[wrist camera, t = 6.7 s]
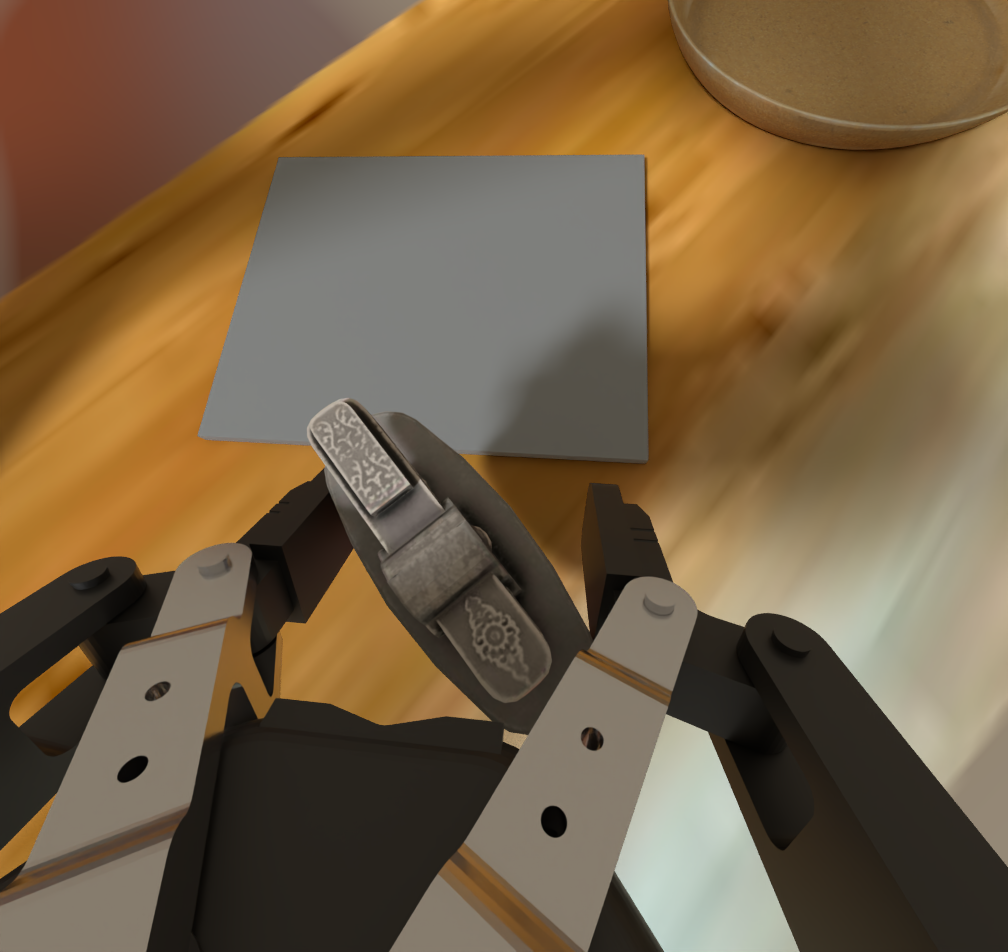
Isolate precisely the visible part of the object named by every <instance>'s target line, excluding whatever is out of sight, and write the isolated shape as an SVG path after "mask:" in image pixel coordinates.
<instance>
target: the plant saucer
mask: <svg viewBox="0 0 1008 952" xmlns="http://www.w3.org/2000/svg"><path fill="white" fill-rule="evenodd" d="M668 6H669V13H670V18H671V22H672V27H673V30H674V33H675V36H676V39H677V42H678V45H679V47H680V50H681V52H682V54H683V56H684V58H685V60H686V62H687V63H688V65H689V67H690V68H691V70H692V71H693V73H694V74H695V75H696V77H697V78H698V80H699V81H700V82H701V83H702V85H703V86H704V87H705V88H706V89H707V90H708V91H709V92H710V93H711V95H713V96H714V97H715V98H716V99H717V100H718V101H719V102H720V103H721V104H722V105H724V106H725V107H726V108H728V109H729V110H730V111H732V112H733V113H735V114H736V115H738V116H739V117H740V118H742V119H744V120H746V121H747V122H749V123H751V124H753V125H755V126H757V127H758V128H761V129H763V130H765V131H768V132H770V133H773V134H775V135H778V136H781V137H784V138H787V139H790V140H794V141H797V142H801V143H806V144H810V145H815V146H822V147H828V148H837V149H849V150H867V149H884V148H895V147H903V146H909V145H914V144H920V143H925V142H929V141H933V140H937V139H941V138H944V137H947V136H950V135H953V134H956V133H959V132H962V131H965V130H968V129H971V128H973V127H975V126H978V125H980V124H983V123H985V122H987V121H990V120H992V119H994V118H996V117H998V116H1000V115H1002V114H1004V113H1006V112H1008V0H668Z"/></svg>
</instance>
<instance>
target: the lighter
mask: <svg viewBox="0 0 1008 952" xmlns="http://www.w3.org/2000/svg"><path fill="white" fill-rule="evenodd" d="M307 437H308V439H309V441H310V443H311V446H312V447H313V449H314V450H315V451H316V453H317V454H318V456H319V457H320V458H321V460H322V461H323V463H324V464H325V469H324V472H325V477H326V483H327V487H328V489H329V492H330V494H331V497H332V499H333V501H334V504H335V506H336V508H337V511H338V513H339V516H340V518H341V520H342V523H343V525H344V528H345V530H346V532H347V535H348V537H349V539H350V542H351V544H352V546H353V548H354V549H355V551H356V553H357V554H358V556H359V558H360V560H361V561H362V563H363V565H364V567H365V568H366V570H367V572H368V573H369V575H370V577H371V579H372V580H373V582H374V584H375V585H376V587H377V589H378V591H379V592H380V594H381V596H382V598H383V599H384V601H385V603H386V604H387V606H388V607H389V609H390V610H391V611H392V612H393V614H394V615H395V616H396V617H397V619H398V620H399V621H400V622H401V624H402V625H403V626H404V627H405V629H406V630H407V631H408V632H409V634H410V635H411V636H412V637H413V638H414V640H415V641H416V642H417V643H418V645H419V646H420V647H421V648H422V650H423V651H424V652H425V653H426V655H427V656H428V657H429V658H430V660H431V661H432V662H433V663H434V665H435V666H436V667H437V668H438V669H439V670H440V671H441V672H442V673H443V674H444V675H445V676H446V677H447V678H448V679H449V680H450V681H451V682H452V683H453V684H454V685H456V686H457V687H458V688H459V689H460V690H461V691H462V692H463V693H464V694H465V695H466V696H467V697H468V698H469V699H470V700H471V701H472V702H473V703H474V704H475V705H476V706H477V707H478V708H479V709H480V710H481V711H482V712H483V713H484V714H485V715H486V716H487V717H488V718H489V719H490V720H491V721H493V722H502V723H504V729H505V730H507V731H509V732H513V733H519V734H526V735H529V733H530V731H531V730H532V728H533V726H534V725H535V723H536V721H537V720H538V718H539V716H540V715H541V713H542V711H543V710H544V708H545V706H546V705H547V703H548V701H549V700H550V698H551V696H552V695H553V693H554V691H555V690H556V688H557V686H558V685H559V683H560V681H561V679H562V678H563V676H564V674H565V673H566V671H567V669H568V668H569V666H570V664H571V663H572V661H573V659H574V658H575V656H576V655H577V654H578V652H579V651H580V650H582V649H584V650H586V651H588V650H589V648H590V647H591V645H592V643H593V640H592V637H591V634H590V632H589V630H588V628H587V627H586V625H585V623H584V621H583V619H582V618H581V616H580V614H579V612H578V610H577V609H576V607H575V605H574V603H573V601H572V600H571V598H570V596H569V594H568V592H567V591H566V589H565V587H564V585H563V583H562V581H561V580H560V578H559V576H558V574H557V572H556V571H555V569H554V567H553V566H552V564H551V563H550V561H549V560H548V559H547V557H546V556H545V554H544V553H543V552H542V550H541V549H540V547H539V546H538V545H537V543H536V542H535V540H534V539H533V538H532V536H531V535H530V533H529V532H528V531H527V529H526V528H525V527H524V525H523V524H522V522H521V521H520V520H519V518H518V517H517V515H516V514H515V513H514V511H513V510H512V508H511V507H510V506H509V505H508V504H507V503H506V502H505V501H504V500H503V499H502V498H501V496H500V495H499V494H498V493H497V492H496V491H495V490H494V489H493V488H492V487H491V486H490V485H489V484H488V483H487V482H486V481H485V480H484V479H483V478H482V477H481V476H480V475H479V474H478V473H477V471H476V470H475V469H474V468H473V467H472V466H471V465H470V464H469V463H468V462H467V461H466V460H465V459H464V458H463V457H462V456H461V455H459V454H458V453H457V452H456V451H454V450H453V449H452V448H451V447H450V446H448V445H447V444H446V443H445V442H443V441H442V440H441V439H440V438H438V437H437V436H436V435H435V434H433V433H432V432H431V431H430V430H429V429H427V428H426V427H425V426H424V425H422V424H421V423H420V422H419V421H417V420H416V419H414V418H412V417H410V416H408V415H406V414H404V413H400V412H389V411H384V412H380V413H376V414H370V413H369V412H368V411H367V410H366V409H365V408H364V407H363V406H362V405H361V404H360V403H359V402H358V401H357V400H354V399H351V398H344V399H339V400H337V401H335V402H333V403H331V404H330V405H328V406H327V407H325V408H324V409H322V410H321V411H320V412H319V413H317V414H316V415H315V416H314V417H313V418H312V419H311V421H310V423H309V425H308V427H307Z"/></svg>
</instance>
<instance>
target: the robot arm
mask: <svg viewBox="0 0 1008 952" xmlns="http://www.w3.org/2000/svg"><path fill="white" fill-rule="evenodd" d="M324 469H325V468H324ZM324 469H323V470H322V471H321V472H320V473H319V474H318V475H317V476H316V477H315V478H314V479H313V480H312V481H307V482H305V483H303V484H302V485H300V486H298V487H296V488H294V489H292V490H290V491H289V492H288V493H287V494H286V495H285V496H284V497H283V498H282V499H281V500H280V501H279V504H276V505H275V506H274V507H273V508H272V509H271V510H270V512H269V513H267V514H266V515H264V516H263V517H262V518H261V519H260V520H259V521H258V522H257V523H256V524H255V525H254V526H253V527H252V528H251V529H250V530H249V531H248V532H247V533H246V534H245V535H244V536H243V537H242V538H241V539H240V540H238V541H237V542H236V543H225V544H219V545H215V546H211V547H208V548H205V549H203V550H201V551H199V552H197V553H195V554H193V555H191V556H190V557H188V558H187V559H186V560H184V561H183V562H182V563H181V564H180V565H179V567H178V568H177V569H176V571H170V572H163V573H156V574H149V575H142V574H141V572H140V570H139V568H138V567H137V565H136V563H135V562H134V560H132V559H131V558H127V557H108V558H103V559H99V560H95V561H92V562H89V563H86V564H83V565H81V566H79V567H76V568H74V569H72V570H70V571H69V572H67V573H65V574H63V575H62V576H60V577H59V578H57V579H55V580H54V581H52V582H50V583H49V584H47V585H46V586H44V587H42V588H41V589H39V590H38V591H36V592H34V593H33V594H31V595H30V596H28V597H26V598H25V599H23V600H22V601H20V602H18V603H17V604H15V605H14V606H12V607H10V608H9V609H7V610H5V611H4V612H2V613H1V614H0V850H1V849H2V848H3V847H4V846H5V845H6V844H7V843H8V842H9V841H10V840H11V839H12V838H13V837H14V836H15V835H16V834H17V833H18V832H19V831H20V830H21V829H22V828H23V827H24V826H25V825H26V824H27V823H28V822H29V821H30V820H31V819H32V818H33V817H34V816H35V815H36V814H37V813H38V812H39V811H40V810H41V808H42V807H43V806H44V805H45V804H46V803H47V802H48V801H49V800H50V799H51V798H52V797H53V796H54V795H55V794H56V793H57V795H56V797H55V799H54V801H53V804H52V806H51V808H50V811H49V813H48V815H47V817H46V820H45V822H44V824H43V826H42V829H41V831H40V833H39V835H38V838H37V840H36V842H35V845H34V847H33V849H32V851H31V854H30V856H29V858H28V860H27V861H26V862H24V863H23V864H21V865H20V866H18V867H17V868H16V869H14V870H13V871H11V872H10V873H8V874H7V875H5V876H4V877H2V878H1V879H0V952H664V951H663V949H662V948H661V946H660V944H659V943H658V941H657V939H656V938H655V936H654V935H653V933H652V931H651V930H650V928H649V926H648V925H647V923H646V922H645V920H644V918H643V917H642V915H641V913H640V912H639V910H638V909H637V907H636V905H635V904H634V902H633V900H632V899H631V897H630V896H629V894H628V892H627V891H626V889H625V888H624V886H623V884H622V883H621V881H620V879H619V878H618V876H617V875H616V873H615V871H614V870H615V867H616V864H617V861H618V858H619V855H620V852H621V849H622V846H623V843H624V840H625V837H626V834H627V831H628V827H629V824H630V821H631V818H632V815H633V812H634V809H635V806H636V803H637V800H638V797H639V794H640V791H641V788H642V785H643V782H644V779H645V776H646V773H647V770H648V767H649V764H650V761H651V757H652V754H653V751H654V748H655V745H656V742H657V739H658V736H659V733H660V730H661V727H662V724H663V721H664V718H665V715H666V714H667V715H670V716H672V717H674V718H677V719H679V720H682V721H684V722H686V723H689V724H691V725H693V726H696V727H698V728H701V729H703V730H705V731H708V733H709V735H710V738H711V740H712V743H713V745H714V747H715V750H716V752H717V755H718V757H719V759H720V762H721V764H722V766H723V769H724V771H725V774H726V776H727V778H728V781H729V783H730V786H731V788H732V790H733V793H734V795H735V798H736V800H737V802H738V805H739V807H740V810H741V812H742V814H743V817H744V819H745V822H746V824H747V826H748V829H749V831H750V834H751V836H752V838H753V841H754V843H755V846H756V848H757V850H758V853H759V855H760V858H761V860H762V862H763V865H764V867H765V870H766V872H767V874H768V877H769V879H770V882H771V884H772V886H773V889H774V891H775V894H776V896H777V898H778V901H779V903H780V906H781V908H782V910H783V913H784V915H785V918H786V920H787V922H788V925H789V927H790V929H791V932H792V934H793V937H794V939H795V941H796V944H797V946H798V949H799V951H800V952H1008V867H1007V866H1006V864H1005V863H1004V862H1003V861H1002V860H1001V858H1000V857H999V856H998V854H997V853H996V852H995V851H994V850H993V848H992V847H991V846H990V845H989V843H988V842H987V841H986V840H985V838H984V837H983V836H982V835H981V833H980V832H979V831H978V830H977V828H976V827H975V826H974V825H973V823H972V822H971V821H970V820H969V819H968V817H967V816H966V815H965V814H964V813H963V811H962V810H961V809H960V807H959V806H958V805H957V804H956V802H955V801H954V800H953V799H952V797H951V796H950V795H949V794H948V792H947V791H946V790H945V789H944V787H943V786H942V785H941V784H940V782H939V781H938V780H937V779H936V777H935V776H934V775H933V774H932V773H931V771H930V770H929V769H928V768H927V766H926V765H925V764H924V763H923V761H922V760H921V759H920V758H919V756H918V755H917V754H916V753H915V751H914V750H913V749H912V748H911V746H910V745H909V744H908V743H907V741H906V740H905V739H904V738H903V737H902V735H901V734H900V733H899V732H898V730H897V729H896V728H895V727H894V725H893V724H892V723H891V722H890V720H889V719H888V718H887V717H886V715H885V714H884V713H883V712H882V710H881V709H880V708H879V707H878V705H877V704H876V703H875V702H874V701H873V699H872V698H871V697H870V696H869V694H868V693H867V692H866V691H865V689H864V688H863V687H862V686H861V684H860V683H859V682H858V681H857V679H856V678H855V677H854V676H853V674H852V673H851V672H850V671H849V669H848V668H847V667H846V666H845V665H844V663H843V662H842V661H841V660H840V658H839V657H838V656H837V655H836V653H835V652H834V651H833V650H832V648H831V647H830V646H829V645H828V644H827V642H826V641H825V640H824V639H823V638H822V637H821V636H820V635H818V634H817V633H816V632H815V631H813V630H812V629H811V628H809V627H807V626H806V625H804V624H802V623H800V622H798V621H796V620H794V619H791V618H789V617H786V616H782V615H778V614H771V613H763V614H757V615H755V616H753V617H751V618H750V619H749V620H748V622H747V623H746V625H745V627H742V626H739V625H736V624H733V623H730V622H727V621H724V620H721V619H718V618H715V617H712V616H709V615H707V614H705V613H703V612H701V611H699V610H697V607H696V604H695V602H694V600H693V599H692V597H691V596H690V595H689V594H688V593H687V592H686V591H685V590H684V589H682V588H681V587H680V586H678V585H676V584H674V583H673V581H672V578H671V575H670V572H669V570H668V567H667V564H666V561H665V559H664V556H663V553H662V550H661V548H660V545H659V543H658V539H657V537H656V534H655V532H654V528H653V526H652V523H651V520H650V517H649V516H648V515H647V514H646V513H645V512H644V511H643V510H642V509H641V508H640V507H639V506H638V505H637V504H624V503H623V500H622V497H621V493H620V490H619V487H618V485H613V484H598V483H590V484H589V487H588V493H587V500H586V507H585V514H584V521H583V528H582V540H581V551H582V561H583V571H584V581H585V590H586V600H587V610H588V619H589V629H590V634H591V637H592V640H593V643H592V645H591V647H590V648H589V650H588V651H586V650H584V649H582V650H580V651H579V652H578V654H577V655H576V656H575V658H574V659H573V661H572V663H571V664H570V666H569V668H568V669H567V671H566V673H565V674H564V676H563V678H562V679H561V681H560V683H559V685H558V686H557V688H556V690H555V691H554V693H553V695H552V696H551V698H550V700H549V701H548V703H547V705H546V706H545V708H544V710H543V711H542V713H541V715H540V716H539V718H538V720H537V721H536V723H535V725H534V726H533V728H532V730H531V731H530V733H529V735H528V736H527V738H526V740H525V741H524V743H523V745H522V746H521V748H520V750H519V749H518V748H516V747H514V746H512V745H509V744H507V743H505V742H503V734H504V723H502V722H492V721H483V720H474V719H465V718H456V717H439V718H433V719H426V720H420V721H413V722H407V723H400V724H394V725H385V726H384V725H378V724H376V723H373V722H371V721H369V720H366V719H364V718H362V717H359V716H357V715H355V714H352V713H350V712H348V711H345V710H343V709H341V708H338V707H336V706H334V705H332V704H327V703H317V702H308V701H299V700H290V699H281V698H280V686H281V666H282V646H283V639H282V636H281V633H280V629H281V628H282V626H283V625H284V624H285V622H296V623H306V622H307V621H308V619H309V617H310V616H311V614H312V613H313V611H314V610H315V608H316V606H317V605H318V603H319V602H320V600H321V599H322V597H323V595H324V594H325V592H326V591H327V589H328V588H329V586H330V584H331V583H332V581H333V580H334V578H335V577H336V575H337V573H338V572H339V570H340V569H341V567H342V566H343V564H344V563H345V561H346V559H347V558H348V556H349V555H350V553H351V552H352V550H353V546H352V544H351V542H350V539H349V537H348V535H347V532H346V530H345V528H344V525H343V523H342V520H341V518H340V516H339V513H338V511H337V508H336V506H335V504H334V501H333V499H332V497H331V494H330V492H329V489H328V487H327V483H326V477H325V472H324ZM78 645H79V647H80V648H81V650H82V651H83V652H84V654H85V655H86V656H87V658H88V659H89V660H90V662H91V663H92V665H93V666H91V667H90V668H89V669H88V670H87V671H85V672H84V673H83V674H82V675H81V676H80V677H78V678H77V679H76V680H75V681H74V682H72V683H71V684H70V685H69V686H68V687H66V688H65V689H64V690H63V691H62V692H60V693H59V694H58V695H57V696H56V697H54V698H53V699H52V700H51V701H50V702H49V703H47V704H46V705H45V706H44V707H43V708H41V709H40V710H39V711H38V712H37V713H35V714H34V715H33V716H32V717H31V718H29V719H28V720H27V721H26V722H25V723H24V724H22V725H21V726H20V727H19V728H18V726H17V725H16V724H15V723H14V722H13V721H12V720H11V719H10V716H9V710H10V706H11V704H12V702H13V700H14V698H15V697H16V696H17V694H18V693H19V692H20V691H21V690H22V689H23V688H25V687H26V686H27V685H28V684H30V683H31V682H32V681H33V680H35V679H36V678H37V677H39V676H40V675H41V674H42V673H44V672H45V671H46V670H48V669H49V668H50V667H51V666H53V665H54V664H55V663H57V662H58V661H59V660H60V659H62V658H63V657H64V656H66V655H67V654H68V653H69V652H71V651H72V650H73V649H75V648H76V647H77V646H78Z"/></svg>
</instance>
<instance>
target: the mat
mask: <svg viewBox="0 0 1008 952" xmlns="http://www.w3.org/2000/svg"><path fill="white" fill-rule="evenodd" d="M344 398H351V399H354V400H357V401H358V402H359V403H360V404H361V405H362V406H363V407H364V408H365V409H366V410H367V411H368V412H369V413H370V414H376V413H380V412H384V411H389V412H400V413H404V414H406V415H408V416H410V417H412V418H414V419H416V420H417V421H419V422H420V423H421V424H422V425H424V426H425V427H426V428H427V429H429V430H430V431H431V432H432V433H433V434H435V435H436V436H437V437H438V438H440V439H441V440H442V441H443V442H445V443H446V444H447V445H448V446H450V447H451V448H452V449H453V450H454V451H456V452H457V453H459V454H477V455H496V456H514V457H532V458H551V459H569V460H587V461H606V462H624V463H642V464H645V463H646V462H647V461H648V389H647V317H646V245H645V173H644V155H539V156H399V157H279V159H278V162H277V166H276V169H275V172H274V176H273V179H272V183H271V186H270V189H269V193H268V196H267V200H266V203H265V207H264V210H263V213H262V217H261V220H260V224H259V227H258V231H257V234H256V237H255V241H254V244H253V248H252V251H251V254H250V258H249V261H248V265H247V268H246V272H245V275H244V278H243V282H242V285H241V289H240V292H239V296H238V299H237V302H236V306H235V309H234V313H233V316H232V320H231V323H230V326H229V330H228V333H227V337H226V340H225V343H224V347H223V350H222V354H221V357H220V361H219V364H218V367H217V371H216V374H215V378H214V381H213V385H212V388H211V391H210V395H209V398H208V402H207V405H206V409H205V412H204V415H203V419H202V422H201V426H200V429H199V432H198V436H199V437H201V438H203V439H205V440H220V441H238V442H257V443H275V444H294V445H311V443H310V441H309V439H308V437H307V427H308V425H309V423H310V421H311V419H312V418H313V417H314V416H315V415H316V414H317V413H319V412H320V411H321V410H322V409H324V408H325V407H327V406H328V405H330V404H331V403H333V402H335V401H337V400H339V399H344Z"/></svg>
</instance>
